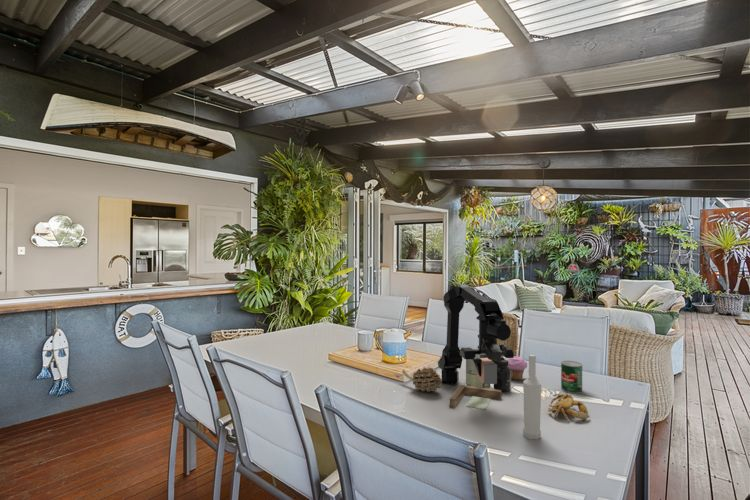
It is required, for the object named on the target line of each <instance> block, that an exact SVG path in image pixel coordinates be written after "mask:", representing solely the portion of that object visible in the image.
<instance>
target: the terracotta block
mask: <svg viewBox="0 0 750 500" xmlns="http://www.w3.org/2000/svg"><path fill="white" fill-rule="evenodd" d="M480 359H481V360H482V361H481V377H480V376H479V374H478V372H477V369H476V377H477V378H478V379H480V380H481V381H482V382H483V383H484V384H490V385H494V384H497V364H496V363H494V362H493V361H492V360H489V359H488V358H480Z"/></svg>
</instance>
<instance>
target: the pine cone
mask: <svg viewBox="0 0 750 500" xmlns="http://www.w3.org/2000/svg"><path fill="white" fill-rule="evenodd" d="M401 371H402V374H403V375H404V376H405V377H406V378H408V379H409V380H410V381H411V382H412V385H414V387H415V389H416V390H417V391H419V390H420V391H421V392H425V391H426V392H427V393H431V392H436V391H437V390H438V389H441V387H442V386H443V383H441V382H442V377H440V374H439V373H438V372H437V370H434V368H432V367H430V366H429V367H428V368H427V367H423V368H421V369H420V368H418V369H417V370H416V371H415V372H413V374H412V375H410V374H409V373H407V370H405V368H403V369H402V370H401Z"/></svg>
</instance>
